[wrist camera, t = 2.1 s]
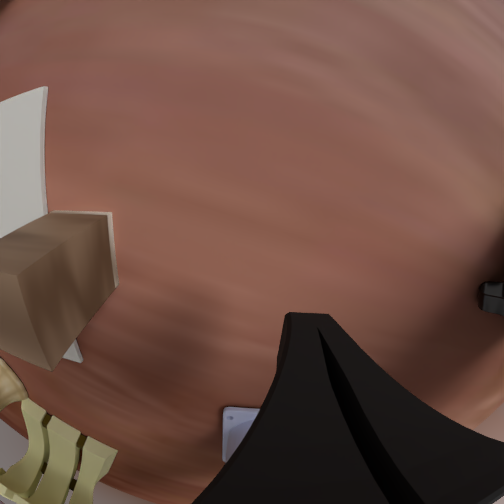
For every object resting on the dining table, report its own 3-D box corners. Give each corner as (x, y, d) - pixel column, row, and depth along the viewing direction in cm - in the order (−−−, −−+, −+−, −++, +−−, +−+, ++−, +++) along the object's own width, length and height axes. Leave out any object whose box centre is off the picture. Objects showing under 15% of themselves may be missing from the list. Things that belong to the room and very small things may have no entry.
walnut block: (119, 284, 14) (52, 371, 8) (64, 275, 14) (-8, 345, 8) (112, 212, 13) (16, 275, 6) (54, 210, 13) (-38, 261, 6)
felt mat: (83, 359, 17) (81, 363, 16) (2, 330, 17) (-1, 333, 16) (48, 86, 10) (43, 86, 9) (-34, 120, 10) (-38, 120, 9)
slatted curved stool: (-5, 406, 24) (-44, 477, 8) (-25, 352, 19) (-89, 442, 2) (155, 495, 29) (139, 579, 13) (186, 476, 24) (169, 598, 8)
